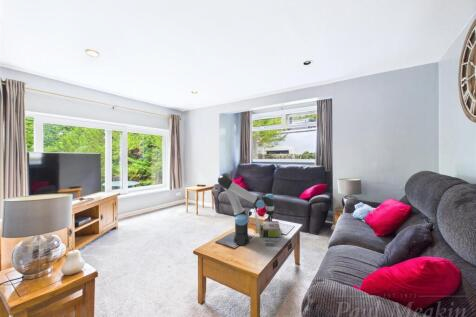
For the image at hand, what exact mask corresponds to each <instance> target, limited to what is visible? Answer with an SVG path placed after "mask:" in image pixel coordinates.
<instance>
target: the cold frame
mask: <svg viewBox="0 0 476 317" xmlns="http://www.w3.org/2000/svg"><path fill="white" fill-rule="evenodd" d="M254 220H255V222H256V224H255V228H256V229H255V230H256V231H255V232H256V233H259V238H261V237H262V231H261V229H263V223H261V224H260V222H259V218H258V215H257V210H256V208H254ZM281 238H282V234H281V232H280V238H279V239H281Z"/></svg>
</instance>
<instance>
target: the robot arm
mask: <svg viewBox="0 0 476 317" xmlns="http://www.w3.org/2000/svg"><path fill="white" fill-rule="evenodd" d="M217 183H218V185H219V186H220V187H222V189H223V190H225V193H226V195H227V198H228V200H229V202H230V205H231V207H232V209H233V216H234V236H233V240H232V242H233V244H234V243H236V244H239V245H238V246H246V245H249V244H250V242H251V239H250V236H249V230H248V229H249V214H248V213H247V212H246V209H245V208H243V205H242V204H241V201H240V200H239V197H241V198H242V199H243V200H246V201H247V202H249V203H251V204H252V205H254V206H255V207H256V208H257V209H258V210H259V209H260V210H261V209H263V208H264V207H265V209H266V210H265V212H266V215H267V221H273V215H274V214H275V210H274V209H275V198H274V197H275V196H274V194H273V193H266V194H265V195H255V194H253V193H252V192H250V191H248V190H247V189H245V188H243V187H241V185H238V183H235V181H234V180H233V178H232V175H231V174H230V173H227V172H224V173H221V175H219V176H218V178H217ZM238 196H239V197H238ZM236 244H235V245H236Z"/></svg>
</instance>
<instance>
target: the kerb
mask: <svg viewBox="0 0 476 317" xmlns="http://www.w3.org/2000/svg"><path fill="white" fill-rule="evenodd" d="M264 246H265V247H276V242H264Z"/></svg>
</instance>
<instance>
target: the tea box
mask: <svg viewBox="0 0 476 317" xmlns="http://www.w3.org/2000/svg"><path fill="white" fill-rule="evenodd" d="M262 224H263V228H262V238H263V239H262V240H263V241H280V239H281V238H280V233H281V229H280V222H279V221H278V220H277V221H275V220H274V221H273V220H272V221H269V220H263V221H262Z"/></svg>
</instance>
